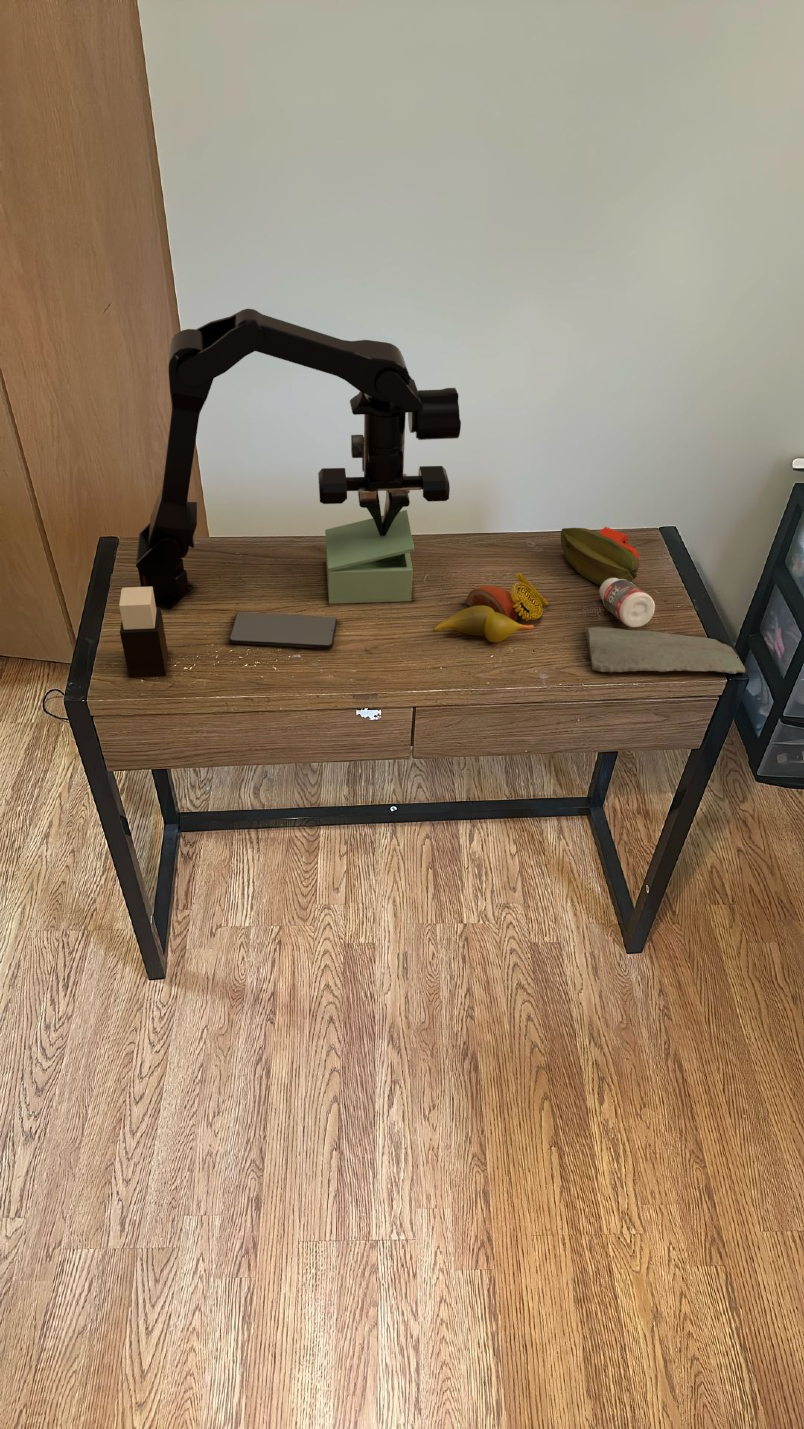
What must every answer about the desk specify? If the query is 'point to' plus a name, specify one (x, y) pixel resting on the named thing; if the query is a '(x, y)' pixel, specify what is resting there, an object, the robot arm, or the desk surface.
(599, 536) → the fruit
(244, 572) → the desk surface
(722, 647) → the stone slab
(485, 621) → the yellow tapered piece
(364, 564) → the case
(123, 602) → the block
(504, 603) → the fruit slice
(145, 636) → the stand
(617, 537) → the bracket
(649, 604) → the pill bottle
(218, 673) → the desk surface
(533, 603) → the logo
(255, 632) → the smartphone
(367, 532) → the cover
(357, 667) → the desk surface
